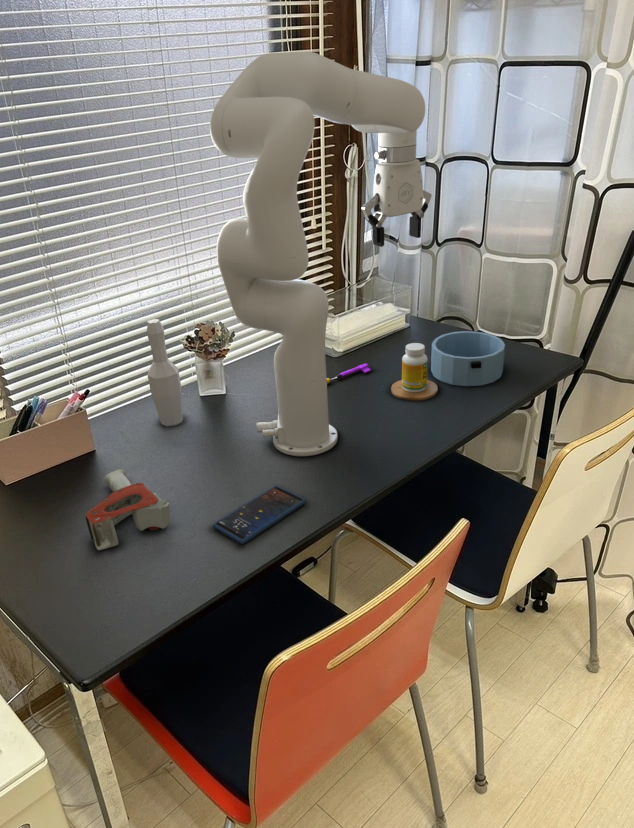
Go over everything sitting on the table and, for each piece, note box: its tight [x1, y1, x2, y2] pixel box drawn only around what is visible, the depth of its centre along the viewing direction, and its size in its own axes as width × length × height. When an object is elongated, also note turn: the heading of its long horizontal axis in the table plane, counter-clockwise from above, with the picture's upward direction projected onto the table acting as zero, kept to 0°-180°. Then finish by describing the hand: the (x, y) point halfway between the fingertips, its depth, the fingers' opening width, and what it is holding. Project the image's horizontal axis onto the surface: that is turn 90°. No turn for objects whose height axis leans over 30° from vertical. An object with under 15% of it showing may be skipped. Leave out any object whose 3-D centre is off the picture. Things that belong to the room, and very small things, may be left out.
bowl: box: [430, 330, 506, 387], centre depth 158 cm, size 16×18×6 cm
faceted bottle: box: [146, 318, 184, 427], centre depth 143 cm, size 6×6×22 cm
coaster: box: [390, 379, 439, 402], centre depth 153 cm, size 10×10×1 cm
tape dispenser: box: [85, 469, 172, 551], centre depth 119 cm, size 18×5×20 cm
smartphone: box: [212, 485, 307, 545], centre depth 117 cm, size 8×1×15 cm
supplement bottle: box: [401, 342, 429, 392], centre depth 151 cm, size 5×5×10 cm
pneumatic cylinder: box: [327, 363, 372, 385], centre depth 160 cm, size 3×1×16 cm
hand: (397, 241), depth 151 cm, fingers open, 9 cm apart
